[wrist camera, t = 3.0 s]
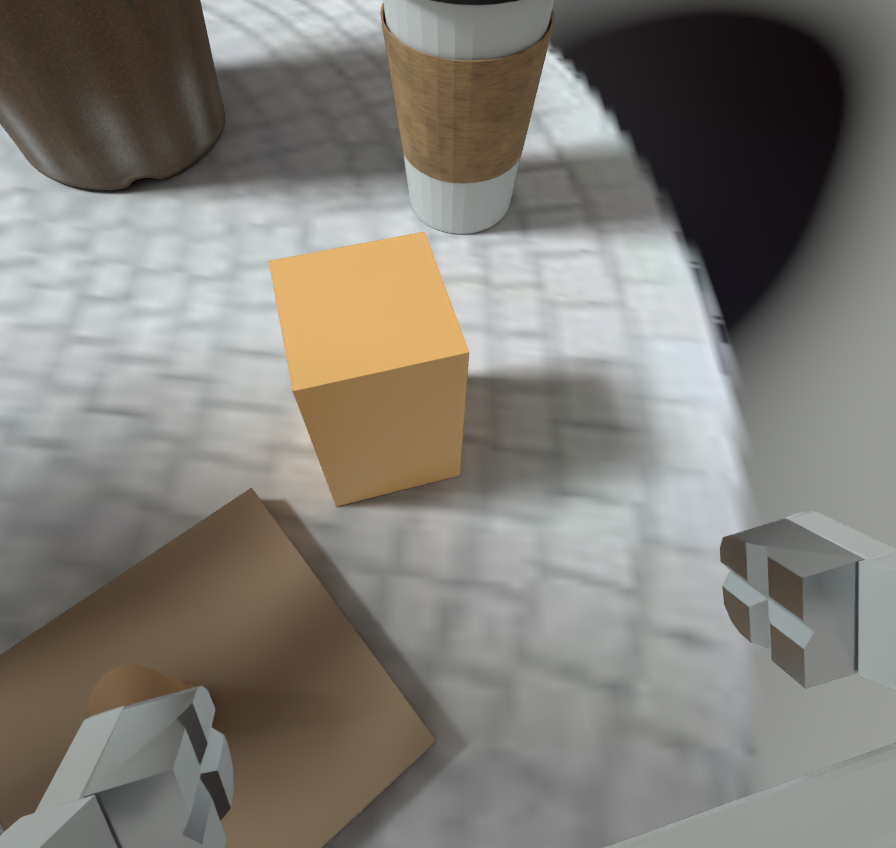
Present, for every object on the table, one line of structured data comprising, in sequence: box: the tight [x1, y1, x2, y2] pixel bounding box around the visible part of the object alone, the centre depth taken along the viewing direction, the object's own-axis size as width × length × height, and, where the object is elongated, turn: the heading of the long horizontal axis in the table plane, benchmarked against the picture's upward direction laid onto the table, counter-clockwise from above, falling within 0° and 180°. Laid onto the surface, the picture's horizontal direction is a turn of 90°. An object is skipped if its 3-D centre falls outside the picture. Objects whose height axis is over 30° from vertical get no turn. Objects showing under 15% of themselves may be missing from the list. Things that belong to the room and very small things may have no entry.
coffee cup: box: [380, 0, 554, 234], centre depth 29 cm, size 8×8×15 cm
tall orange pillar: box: [269, 232, 469, 507], centre depth 24 cm, size 6×6×9 cm
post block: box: [0, 488, 436, 848], centre depth 19 cm, size 12×12×6 cm
